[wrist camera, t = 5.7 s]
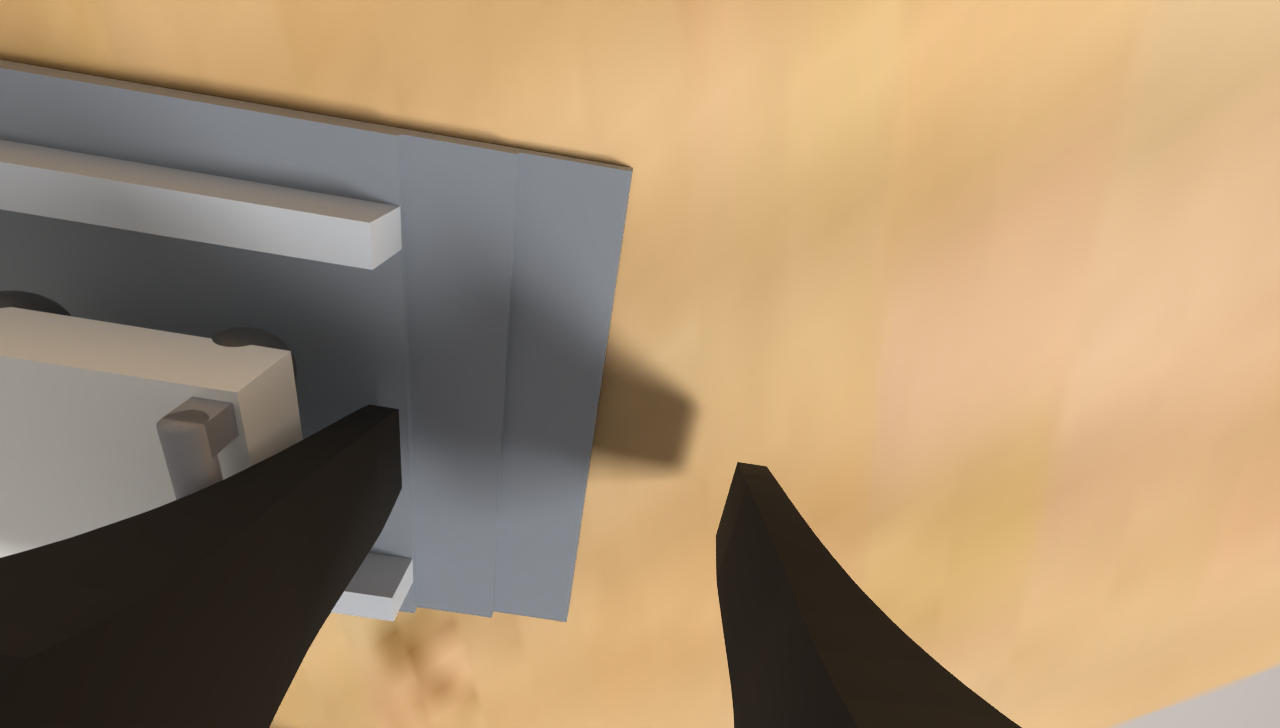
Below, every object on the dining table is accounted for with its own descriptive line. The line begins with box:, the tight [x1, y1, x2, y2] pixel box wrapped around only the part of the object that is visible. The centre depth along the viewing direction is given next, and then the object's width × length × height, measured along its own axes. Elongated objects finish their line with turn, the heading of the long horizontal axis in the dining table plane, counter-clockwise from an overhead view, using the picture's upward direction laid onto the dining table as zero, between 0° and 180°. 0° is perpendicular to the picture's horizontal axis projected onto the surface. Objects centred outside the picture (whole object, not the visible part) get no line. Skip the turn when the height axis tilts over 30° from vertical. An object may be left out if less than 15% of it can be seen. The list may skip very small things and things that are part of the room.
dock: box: [0, 60, 633, 622], centre depth 12 cm, size 12×16×2 cm
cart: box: [0, 290, 303, 558], centre depth 10 cm, size 5×6×3 cm
